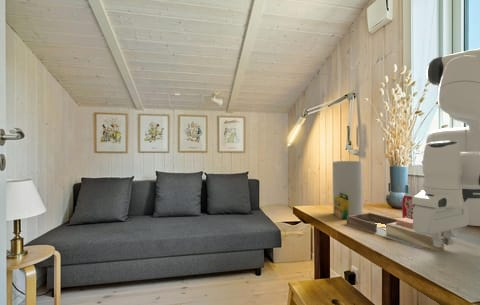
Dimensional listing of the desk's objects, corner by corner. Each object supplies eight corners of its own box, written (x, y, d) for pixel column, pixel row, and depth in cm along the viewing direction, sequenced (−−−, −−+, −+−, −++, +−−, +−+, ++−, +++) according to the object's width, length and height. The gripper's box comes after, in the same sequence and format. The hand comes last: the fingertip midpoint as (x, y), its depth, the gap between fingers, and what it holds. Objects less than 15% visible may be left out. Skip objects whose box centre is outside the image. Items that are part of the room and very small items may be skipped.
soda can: (427, 227, 99) (426, 196, 99) (406, 226, 101) (406, 196, 101) (418, 222, 106) (417, 193, 106) (399, 221, 108) (399, 193, 108)
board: (378, 221, 109) (378, 217, 109) (456, 243, 83) (456, 238, 83) (345, 227, 101) (345, 223, 101) (419, 253, 75) (419, 248, 75)
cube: (405, 231, 90) (405, 217, 90) (420, 236, 86) (420, 221, 86) (396, 233, 88) (396, 219, 88) (411, 238, 84) (411, 223, 83)
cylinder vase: (332, 217, 116) (332, 162, 115) (334, 211, 127) (333, 161, 127) (363, 220, 111) (362, 162, 110) (361, 213, 122) (361, 161, 122)
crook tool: (401, 230, 91) (401, 220, 91) (455, 245, 77) (455, 234, 77) (386, 234, 88) (386, 224, 87) (439, 251, 73) (439, 239, 73)
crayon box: (334, 218, 114) (333, 192, 114) (340, 218, 115) (340, 192, 114) (342, 223, 107) (341, 195, 107) (349, 223, 107) (348, 195, 107)
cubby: (369, 219, 106) (369, 212, 106) (398, 227, 95) (398, 219, 95) (346, 223, 101) (346, 216, 101) (374, 232, 90) (374, 224, 90)
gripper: (450, 192, 80) (450, 236, 81) (407, 198, 72) (408, 247, 72) (475, 195, 75) (475, 243, 75) (432, 202, 66) (432, 255, 67)
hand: (442, 245), depth 74 cm, fingers closed on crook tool, 3 cm apart
